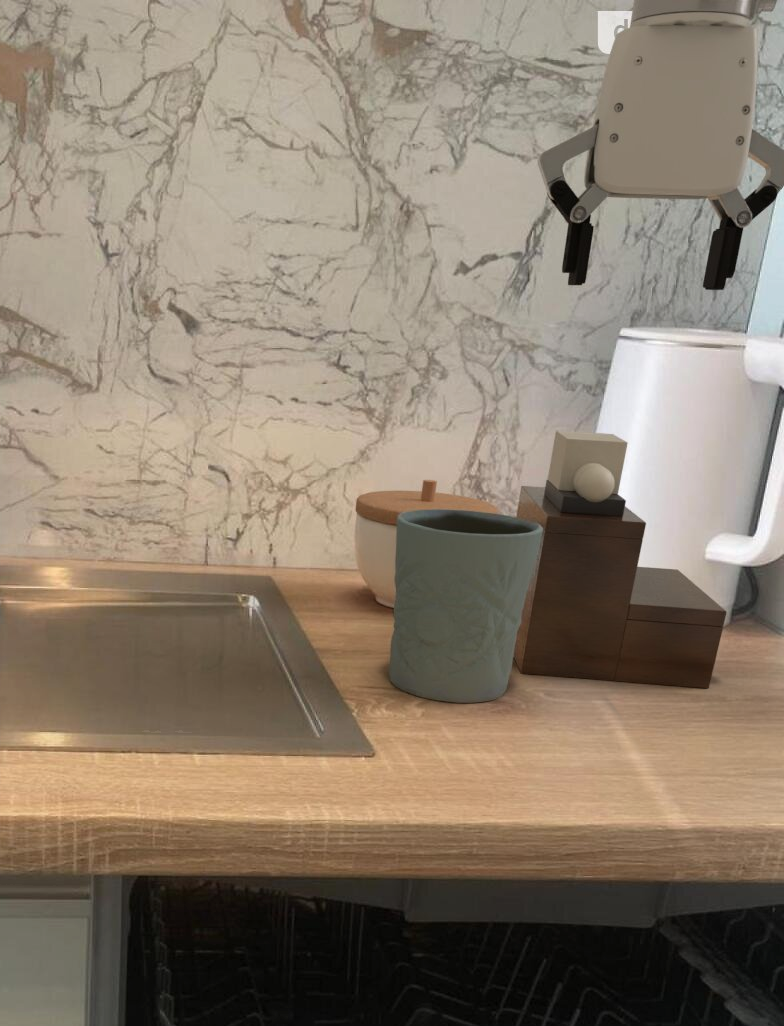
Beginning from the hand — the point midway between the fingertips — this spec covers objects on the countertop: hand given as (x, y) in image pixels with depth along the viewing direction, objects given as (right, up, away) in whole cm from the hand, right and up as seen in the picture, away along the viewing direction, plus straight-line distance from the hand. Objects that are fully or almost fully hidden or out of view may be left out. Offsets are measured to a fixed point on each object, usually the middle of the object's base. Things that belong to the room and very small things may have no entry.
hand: (644, 287), depth 86 cm
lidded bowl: (-12, -19, +24) cm, 33 cm away
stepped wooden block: (0, -25, +11) cm, 28 cm away
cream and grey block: (-3, -14, +5) cm, 16 cm away
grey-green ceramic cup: (-14, -29, +2) cm, 32 cm away
